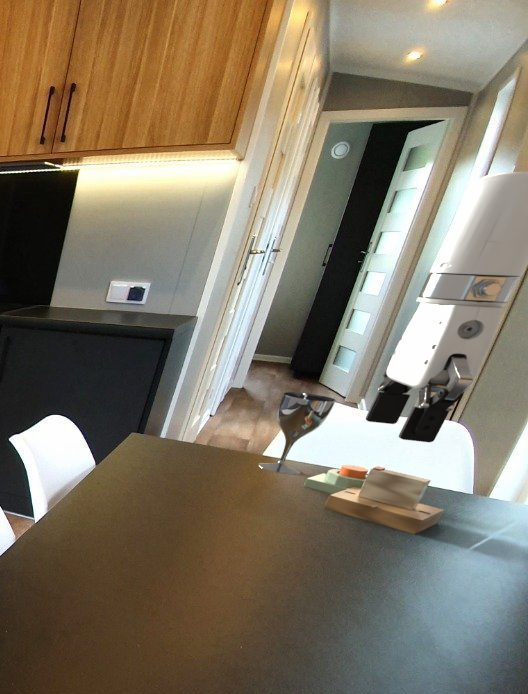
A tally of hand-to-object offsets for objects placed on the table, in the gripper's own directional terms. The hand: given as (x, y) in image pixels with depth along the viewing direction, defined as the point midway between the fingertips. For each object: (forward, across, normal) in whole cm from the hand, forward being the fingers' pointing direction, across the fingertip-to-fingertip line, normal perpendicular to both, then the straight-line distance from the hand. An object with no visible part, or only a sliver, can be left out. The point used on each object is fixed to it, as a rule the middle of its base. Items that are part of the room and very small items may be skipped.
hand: (396, 430), depth 83 cm
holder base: (+20, +28, -15) cm, 37 cm away
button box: (+20, +40, -14) cm, 47 cm away
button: (+17, +40, -14) cm, 45 cm away
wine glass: (+20, +51, -7) cm, 55 cm away
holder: (+17, +28, -15) cm, 36 cm away
